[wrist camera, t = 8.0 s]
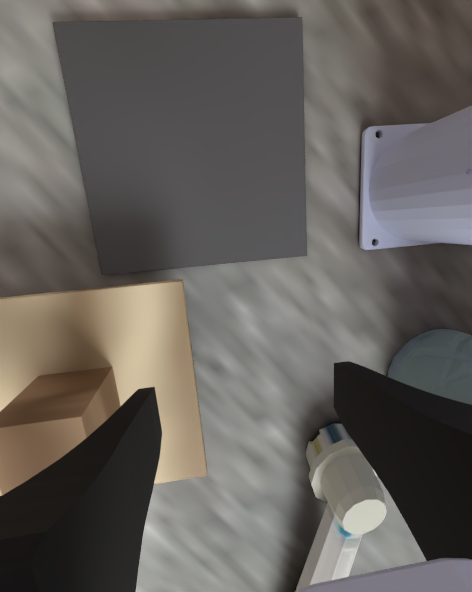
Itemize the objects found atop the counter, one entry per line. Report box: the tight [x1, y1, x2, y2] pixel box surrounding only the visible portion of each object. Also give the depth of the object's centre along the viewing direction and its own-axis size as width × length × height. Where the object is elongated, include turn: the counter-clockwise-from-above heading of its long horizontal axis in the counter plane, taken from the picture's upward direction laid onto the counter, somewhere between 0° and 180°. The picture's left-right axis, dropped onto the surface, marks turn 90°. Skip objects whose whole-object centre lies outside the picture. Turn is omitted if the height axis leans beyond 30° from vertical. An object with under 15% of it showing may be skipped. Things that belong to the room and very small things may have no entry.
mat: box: [53, 17, 307, 275], centre depth 19 cm, size 14×14×1 cm
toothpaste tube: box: [296, 424, 387, 591], centre depth 26 cm, size 5×7×25 cm
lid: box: [0, 279, 207, 496], centre depth 15 cm, size 13×13×5 cm
